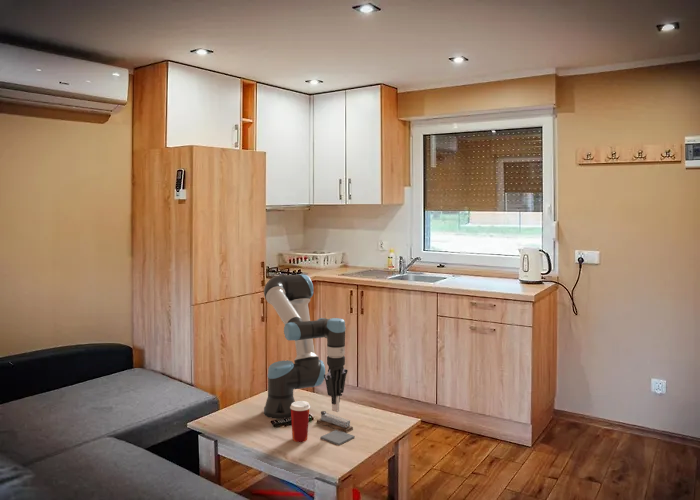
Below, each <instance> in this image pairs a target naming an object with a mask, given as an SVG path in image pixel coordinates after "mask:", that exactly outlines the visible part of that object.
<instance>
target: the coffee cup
mask: <svg viewBox="0 0 700 500" xmlns="http://www.w3.org/2000/svg"><path fill="white" fill-rule="evenodd" d="M290 408H291V417H290V419H291V433H292V441H293V442H295V443H305V442H306V441H308V435H309V420H310V418H309V417H310V409H311V405H310V402H308V401H306V400H305V401H304V400H296V401H295V402H293V403H292V404H291V406H290Z"/></svg>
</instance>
